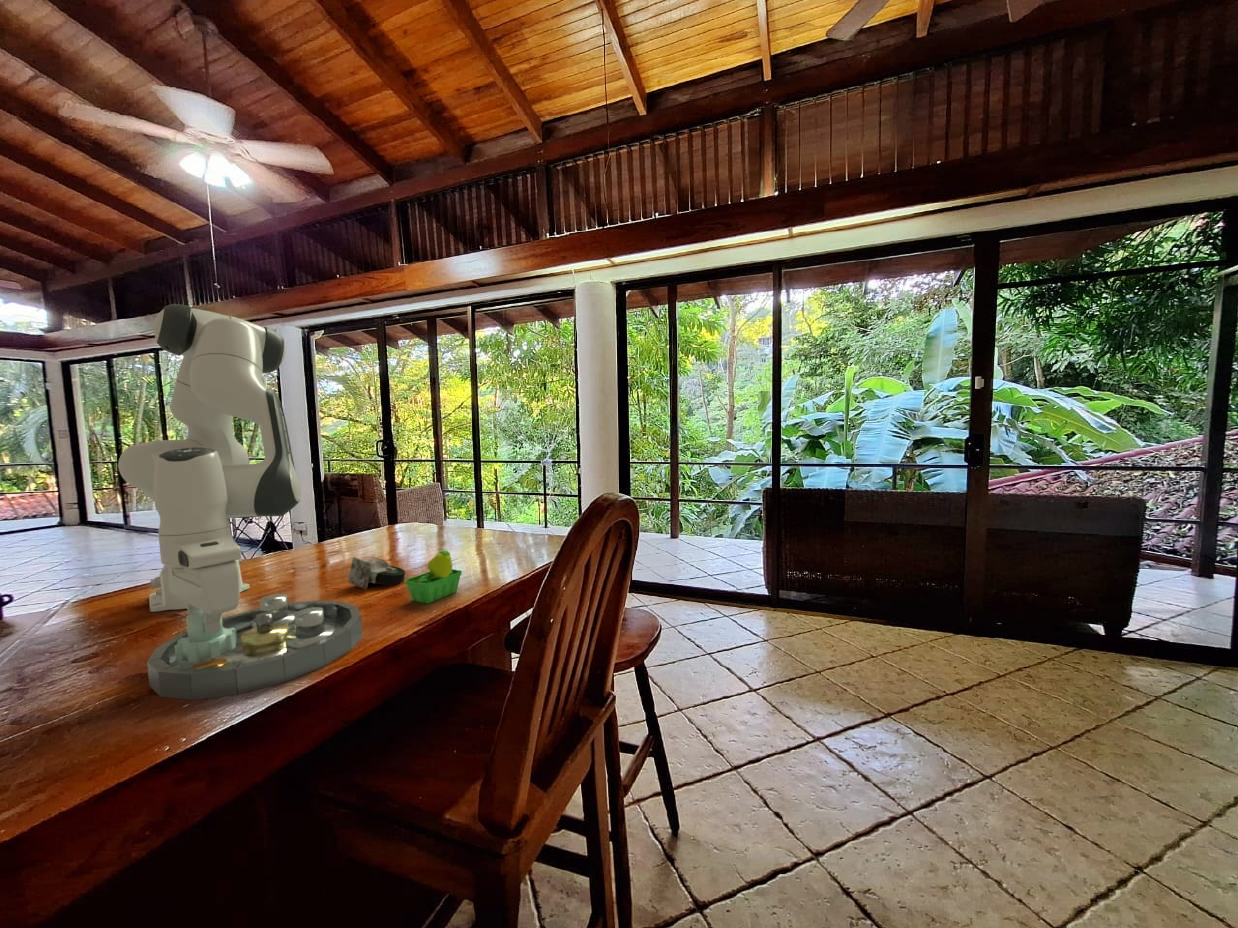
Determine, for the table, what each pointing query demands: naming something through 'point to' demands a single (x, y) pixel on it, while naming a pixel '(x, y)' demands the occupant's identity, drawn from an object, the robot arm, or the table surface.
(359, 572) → the caster wheel
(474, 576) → the table surface
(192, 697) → the tray
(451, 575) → the fruit basket
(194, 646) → the planet gear
